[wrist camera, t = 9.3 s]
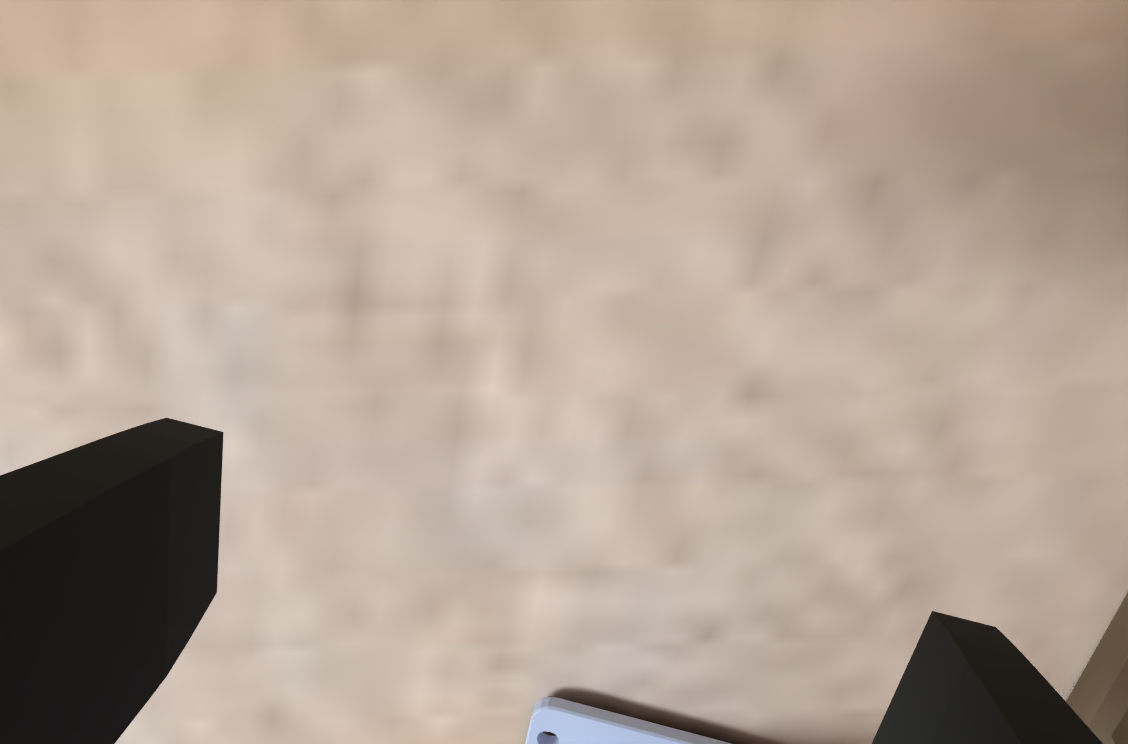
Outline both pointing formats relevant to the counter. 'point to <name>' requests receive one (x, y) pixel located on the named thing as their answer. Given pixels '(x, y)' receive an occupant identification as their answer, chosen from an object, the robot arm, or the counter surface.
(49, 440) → the counter surface
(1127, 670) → the rack
